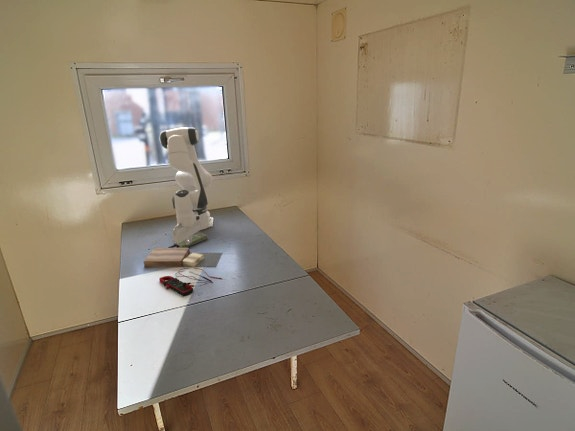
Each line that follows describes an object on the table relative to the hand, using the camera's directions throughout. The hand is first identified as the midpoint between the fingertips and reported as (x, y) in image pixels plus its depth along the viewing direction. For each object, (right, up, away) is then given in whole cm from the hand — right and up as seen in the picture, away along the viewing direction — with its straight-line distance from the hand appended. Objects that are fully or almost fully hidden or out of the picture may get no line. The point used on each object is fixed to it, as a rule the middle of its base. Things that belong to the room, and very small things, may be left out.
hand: (189, 243), depth 188 cm
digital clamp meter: (+6, -18, -17) cm, 26 cm away
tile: (+2, -10, 0) cm, 10 cm away
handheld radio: (-9, 0, +23) cm, 24 cm away
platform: (-13, -9, +3) cm, 16 cm away
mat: (+7, -9, +3) cm, 12 cm away
